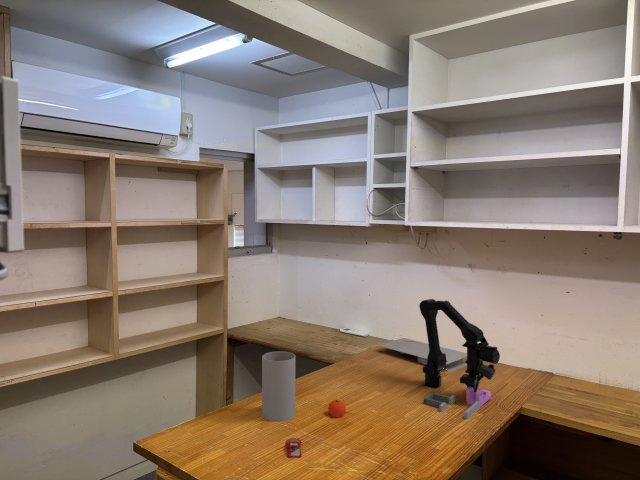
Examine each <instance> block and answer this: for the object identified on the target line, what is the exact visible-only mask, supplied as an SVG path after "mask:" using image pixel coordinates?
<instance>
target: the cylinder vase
mask: <svg viewBox="0 0 640 480" xmlns="http://www.w3.org/2000/svg"><path fill="white" fill-rule="evenodd" d="M261 358H262V359H261V368H262V369H261V407H262V408H261V416H262V417H263V419H266V420H267V421H272V422H286V421H289V420H292V419H293V418H295V416H296V355H295V354H294V353H293V352H290V351H282V350H281V351H278V350H276V351H269V352H266V353H264V354H262V357H261Z"/></svg>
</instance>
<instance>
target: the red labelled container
mask: <svg viewBox="0 0 640 480" xmlns="http://www.w3.org/2000/svg"><path fill="white" fill-rule="evenodd" d="M284 444H285V449H286V451H285V452H286V457H287V459H288V458H289V459H301V457H302V456H303V452H302V444H303V442H302V441H301V439H300V438H296V437H292V438H288V439H287V440H286V441H285V443H284Z"/></svg>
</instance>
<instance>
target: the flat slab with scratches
mask: <svg viewBox="0 0 640 480" xmlns="http://www.w3.org/2000/svg"><path fill="white" fill-rule="evenodd" d="M377 346H378V347H381V348H385V349H389V350H394V351H396V352H399V353H400V354H401V355H407V354H408V355H412V356H415V357H417V363H418V364H419V363H420V364H423V365H424V366H425V365H427V357H428V354H429V344H428V342H427V343H426V342H422V341H418V340H414V339H411V338H406V337H403V338H398V339H396V340H392V341H389V342H385V343H382V344H378V345H377ZM440 350H441V352H442V353H445V354H446V360H447V362H446V366H445V367H444V369H445V370H444V369H443V370H442V371H446V369H447V370H448V372H447V373H451V372H453V371H456V370H459V369H461V367H462V368H465V367H467V364H466V363H465V361H466V360H463V359H465V358H467V352H463V351H459V350H455V349H453V348H452V349H451V348H447V347H443V346H440ZM464 366H465V367H464Z"/></svg>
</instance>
